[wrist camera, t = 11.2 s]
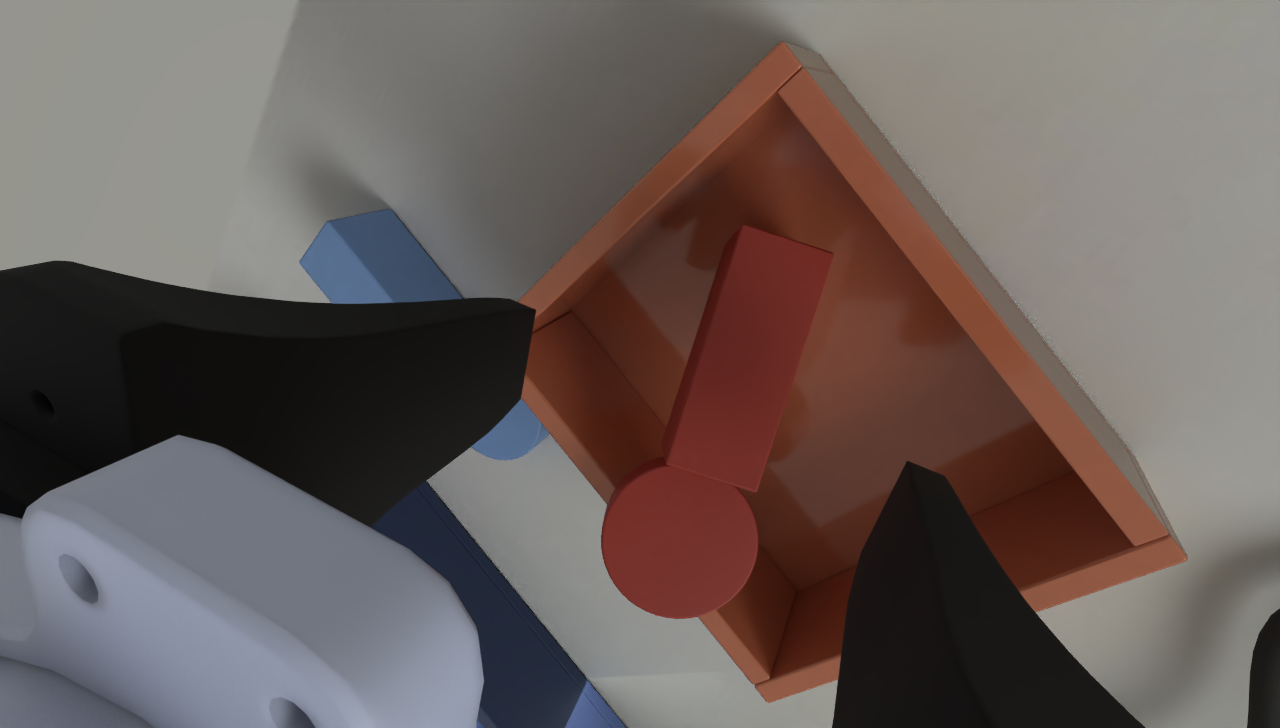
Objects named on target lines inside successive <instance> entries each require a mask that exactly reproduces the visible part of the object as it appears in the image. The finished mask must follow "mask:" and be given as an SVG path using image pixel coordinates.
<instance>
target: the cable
mask: <svg viewBox="0 0 1280 728" xmlns="http://www.w3.org/2000/svg"><path fill="white" fill-rule="evenodd" d="M1247 728H1280V609H1279V610H1277V611H1276V612H1275V613H1273V614H1272V615H1271V616H1270V618H1269V619H1268V621H1267V622H1266V624H1265V625H1264V627H1263V628H1262V630H1261V631H1260V633H1259V635H1258V639H1257V642H1256V645H1255V648H1254V651H1253V656H1252V663H1251V671H1250V687H1249V711H1248V724H1247Z"/></svg>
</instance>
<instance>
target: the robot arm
mask: <svg viewBox="0 0 1280 728" xmlns="http://www.w3.org/2000/svg"><path fill="white" fill-rule="evenodd" d="M535 315H536V309H533V308H531V307H528V306H526V305H524V304H521V303H519V302H516V301H514V300H511V299H505V298H468V299H451V300H435V301H420V302H396V303H368V304H334V303H310V302H293V301H283V300H273V299H264V298H254V297H245V296H236V295H228V294H222V293H215V292H209V291H202V290H197V289H191V288H186V287H180V286H174V285H169V284H164V283H159V282H154V281H150V280H145V279H141V278H137V277H133V276H128V275H124V274H120V273H115V272H111V271H107V270H103V269H99V268H94V267H90V266H86V265H83V264H79V263H75V262H70V261H50V262H45V263H39V264H34V265H28V266H23V267H17V268H12V269H7V270H1V271H0V728H476V721H477V716H478V711H479V705H480V700H481V694H482V689H483V684H484V677H483V669H482V661H481V653H480V646H479V638H478V632H477V628H476V625H475V624H474V622H473V620H472V619H471V617H470V615H469V614H468V612H467V610H466V609H465V607H464V606H463V604H462V602H461V601H460V599H459V597H458V596H457V594H456V593H455V591H454V589H453V588H452V586H451V584H450V583H449V581H447V580H446V579H445V578H444V577H442V576H441V575H440V574H439V573H438V572H436V571H435V570H434V569H433V568H431V567H430V566H429V565H428V564H427V563H425V562H424V561H423V560H422V559H420V558H419V557H418V556H417V555H416V554H414V553H413V552H412V551H411V550H409V549H408V548H406V547H405V546H403V545H401V544H399V543H397V542H395V541H394V540H392V539H390V538H388V537H386V536H385V535H383V534H381V533H379V532H377V531H375V530H374V529H372V528H371V527H372V526H373V525H374V524H375V523H376V522H377V521H378V520H379V519H380V518H381V517H382V516H383V515H384V514H385V513H386V512H387V511H389V510H390V509H391V508H392V507H393V506H394V505H396V504H397V503H398V502H399V501H400V500H402V499H403V498H404V497H405V496H406V495H408V494H409V493H410V492H412V491H413V490H414V489H416V488H417V487H418V486H420V485H421V484H422V483H423V482H425V481H426V480H427V479H429V478H430V477H431V476H433V475H434V474H435V473H437V472H438V471H439V470H441V469H442V468H443V467H445V466H446V465H447V464H449V463H450V462H451V461H453V460H454V459H455V458H457V457H458V456H459V455H461V454H462V453H463V452H465V451H466V450H467V449H468V448H470V447H471V446H472V445H474V444H475V443H476V442H477V441H479V440H480V439H481V438H483V437H484V436H485V435H486V434H488V433H489V432H490V431H491V430H492V429H493V428H494V427H495V426H496V425H497V424H498V423H499V422H500V421H501V420H502V419H503V418H504V417H505V416H506V415H507V414H508V413H509V412H510V411H511V409H512V408H513V407H514V406H515V405H516V404H517V403H518V402H519V401H520V400H521V395H522V390H523V384H524V378H525V372H526V367H527V361H528V355H529V349H530V344H531V338H532V332H533V326H534V320H535ZM832 728H1145V727H1144V726H1143V725H1142V724H1141V723H1140V722H1139V721H1138V720H1136V719H1135V718H1134V717H1133V716H1132V715H1131V714H1130V713H1129V712H1128V711H1127V710H1126V709H1125V708H1124V707H1123V706H1122V705H1121V704H1120V703H1119V702H1118V701H1117V700H1116V699H1115V698H1114V697H1113V696H1112V695H1111V694H1110V693H1109V692H1108V691H1107V690H1106V689H1104V688H1103V687H1102V686H1101V685H1100V684H1099V683H1098V682H1097V681H1096V680H1095V679H1094V678H1093V677H1092V676H1091V675H1090V674H1089V673H1088V672H1087V670H1086V669H1085V668H1084V667H1083V666H1082V665H1081V664H1080V663H1079V662H1078V661H1077V660H1076V659H1075V658H1074V657H1073V656H1072V655H1071V653H1070V652H1069V651H1068V650H1067V649H1066V648H1065V647H1064V645H1063V644H1062V643H1061V642H1060V641H1059V640H1058V639H1057V637H1056V636H1055V635H1054V634H1053V633H1052V632H1051V630H1050V629H1049V628H1048V627H1047V626H1046V625H1045V623H1044V622H1043V621H1042V620H1041V619H1040V618H1039V616H1038V615H1037V614H1036V613H1035V611H1034V610H1033V609H1032V608H1031V606H1030V605H1029V604H1028V603H1027V601H1026V600H1025V599H1024V597H1023V596H1022V595H1021V593H1020V592H1019V590H1018V589H1017V588H1016V586H1015V585H1014V584H1013V582H1012V581H1011V579H1010V578H1009V577H1008V575H1007V574H1006V573H1005V571H1004V570H1003V568H1002V567H1001V565H1000V564H999V562H998V561H997V559H996V558H995V556H994V555H993V553H992V552H991V550H990V549H989V547H988V546H987V544H986V543H985V541H984V539H983V538H982V536H981V535H980V533H979V531H978V530H977V528H976V526H975V525H974V523H973V522H972V520H971V518H970V516H969V515H968V513H967V511H966V510H965V508H964V506H963V505H962V503H961V501H960V499H959V498H958V496H957V494H956V493H955V491H954V489H953V488H952V486H951V484H950V483H949V481H948V480H947V478H946V477H945V476H944V475H942V474H939V473H937V472H934V471H932V470H929V469H927V468H924V467H922V466H919V465H917V464H914V463H912V462H910V461H907V462H906V464H905V466H904V468H903V470H902V472H901V474H900V476H899V478H898V480H897V482H896V484H895V486H894V488H893V489H892V491H891V493H890V495H889V497H888V499H887V501H886V503H885V505H884V507H883V509H882V511H881V513H880V515H879V517H878V519H877V521H876V523H875V525H874V527H873V529H872V531H871V533H870V535H869V537H868V539H867V541H866V543H865V545H864V547H863V549H862V551H861V553H860V557H859V561H858V564H857V568H856V571H855V575H854V579H853V583H852V586H851V590H850V594H849V598H848V603H847V611H846V618H845V627H844V635H843V643H842V651H841V660H840V669H839V677H838V686H837V694H836V703H835V711H834V719H833V725H832Z"/></svg>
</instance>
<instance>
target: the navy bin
mask: <svg viewBox="0 0 1280 728" xmlns="http://www.w3.org/2000/svg"><path fill="white" fill-rule="evenodd" d="M371 528H372V529H374V530H375V531H377V532H379V533H381V534H383V535H385V536H386V537H388V538H390V539H392V540H394V541H395V542H397V543H399V544H401V545H403V546H405V547H406V548H408V549H409V550H411V551H412V552H413V553H414V554H416V555H417V556H418V557H419V558H420V559H422V560H423V561H424V562H425V563H427V564H428V565H429V566H430V567H431V568H433V569H434V570H435V571H436V572H438V573H439V574H440V575H441V576H442V577H444V578H445V579H446V580H447V581H449V583H450V584H451V586H452V588H453V589H454V591H455V593H456V594H457V596H458V597H459V599H460V601H461V602H462V604H463V606H464V607H465V609H466V610H467V612H468V614H469V615H470V617H471V619H472V620H473V622H474V624H475V625H476V628H477V632H478V638H479V646H480V653H481V661H482V669H483V677H484V684H483V689H482V694H481V700H480V705H479V711H478V716H477V721H476V728H626V727H625V726H624V724H623V723H622V722H621V721H620V719H619V718H618V717H617V716H616V714H615V713H614V712H613V711H612V710H611V708H610V707H609V706H608V705H607V703H606V702H605V701H604V700H603V699H602V697H601V696H600V695H599V694H598V692H597V691H596V690H595V689H594V688H593V686H592V685H591V684H590V683H589V681H588V680H587V679H586V678H585V676H584V675H583V674H582V673H581V672H580V670H579V669H578V668H577V667H576V665H575V664H574V663H573V662H572V661H571V659H570V658H569V657H568V656H567V654H566V653H565V652H564V651H563V649H562V648H561V647H560V646H559V645H558V643H557V642H556V641H555V640H554V638H553V637H552V636H551V635H550V634H549V632H548V631H547V630H546V629H545V627H544V626H543V625H542V624H541V622H540V621H539V620H538V619H537V618H536V616H535V615H534V614H533V613H532V611H531V610H530V609H529V608H528V607H527V605H526V604H525V603H524V602H523V600H522V599H521V598H520V597H519V595H518V594H517V593H516V592H515V591H514V589H513V588H512V587H511V586H510V584H509V583H508V582H507V581H506V580H505V578H504V577H503V576H502V575H501V573H500V572H499V571H498V570H497V568H496V567H495V566H494V565H493V564H492V562H491V561H490V560H489V559H488V557H487V556H486V555H485V554H484V553H483V551H482V550H481V549H480V548H479V546H478V545H477V544H476V543H475V541H474V540H473V539H472V538H471V537H470V535H469V534H468V533H467V532H466V530H465V529H464V528H463V527H462V526H461V524H460V523H459V522H458V521H457V519H456V518H455V517H454V516H453V514H452V513H451V512H450V511H449V510H448V508H447V507H446V506H445V505H444V503H443V502H442V501H441V500H440V499H439V497H438V496H437V495H436V494H435V492H434V491H433V490H432V489H431V488H430V486H429V485H428V484H427V483H426V481H425V482H423V483H422V484H421V485H420V486H418V487H417V488H416V489H414V490H413V491H412V492H410V493H409V494H408V495H406V496H405V497H404V498H403V499H402V500H400V501H399V502H398V503H397V504H396V505H394V506H393V507H392V508H391V509H390V510H389V511H387V512H386V513H385V514H384V515H383V516H382V517H381V518H380V519H379V520H378V521H377V522H376V523H375V524H374V525H373V526H372V527H371Z"/></svg>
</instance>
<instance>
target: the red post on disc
mask: <svg viewBox="0 0 1280 728" xmlns="http://www.w3.org/2000/svg"><path fill="white" fill-rule="evenodd" d="M833 257H834V253H832V252H830V251H827V250H824V249H821V248H818V247H815V246H811V245H808V244H805V243H802V242H799V241H796V240H793V239H790V238H787V237H784V236H780V235H777V234H774V233H771V232H768V231H765V230H762V229H759V228H756V227H752V226H749V225H746V224H742V225H741V227H740V228H739V229H738V230H737V231H736V232H735V234H734V235H733V236H732V237H731V238H730V239H729V240H728V242H727V243H726V244H725V246H724V250H723V253H722V256H721V259H720V262H719V265H718V268H717V271H716V274H715V278H714V281H713V284H712V287H711V290H710V293H709V296H708V299H707V303H706V306H705V309H704V312H703V315H702V318H701V321H700V324H699V327H698V331H697V334H696V337H695V340H694V343H693V346H692V349H691V352H690V356H689V359H688V362H687V365H686V368H685V371H684V374H683V377H682V381H681V384H680V387H679V390H678V393H677V396H676V399H675V402H674V405H673V409H672V412H671V415H670V418H669V421H668V424H667V427H666V430H665V434H664V437H663V440H662V443H661V446H662V450H663V454H664V456H662V457H658V458H655V459H652V460H649V461H647V462H645V463H643V464H641V465H639V466H638V467H636V468H635V469H633V470H632V471H631V472H629V473H628V474H627V475H626V476H625V477H624V478H623V479H622V480H621V481H620V483H619V484H618V485H617V487H616V488H615V490H614V492H613V493H612V495H611V497H610V500H609V502H608V505H607V508H606V512H605V516H604V521H603V527H602V535H601V548H602V554H603V559H604V563H605V566H606V569H607V571H608V573H609V576H610V578H611V579H612V581H613V583H614V584H615V586H616V587H617V588H618V589H619V591H620V592H621V593H622V594H623V595H624V596H625V597H626V598H627V599H628V600H629V601H631V602H632V603H633V604H635V605H636V606H637V607H639V608H641V609H643V610H645V611H647V612H649V613H652V614H654V615H658V616H662V617H666V618H675V619H683V618H693V617H698V616H701V615H705V614H708V613H710V612H712V611H715V610H717V609H718V608H720V607H722V606H723V605H725V604H726V603H727V602H729V601H730V600H731V599H732V598H733V597H734V596H735V595H736V594H737V593H738V592H739V591H740V590H741V589H742V587H743V586H744V585H745V583H746V582H747V580H748V578H749V576H750V575H751V572H752V570H753V567H754V565H755V561H756V557H757V552H758V529H757V523H756V520H755V516H754V513H753V511H752V509H751V506H750V504H749V503H748V501H747V499H746V498H745V496H744V495H743V493H742V492H741V490H740V489H739V488H742V489H746V490H749V491H752V492H757V490H758V487H759V484H760V481H761V478H762V475H763V472H764V469H765V466H766V463H767V460H768V457H769V454H770V451H771V447H772V444H773V441H774V438H775V435H776V432H777V429H778V426H779V423H780V420H781V417H782V414H783V411H784V407H785V404H786V401H787V398H788V395H789V392H790V389H791V386H792V383H793V380H794V377H795V374H796V371H797V367H798V364H799V361H800V358H801V355H802V352H803V349H804V346H805V343H806V340H807V337H808V334H809V331H810V327H811V324H812V321H813V318H814V315H815V312H816V309H817V306H818V303H819V300H820V297H821V294H822V291H823V287H824V284H825V281H826V278H827V275H828V272H829V269H830V266H831V263H832V260H833ZM738 487H739V488H738Z"/></svg>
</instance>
